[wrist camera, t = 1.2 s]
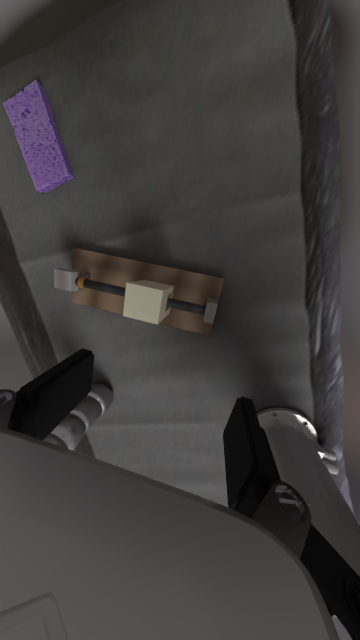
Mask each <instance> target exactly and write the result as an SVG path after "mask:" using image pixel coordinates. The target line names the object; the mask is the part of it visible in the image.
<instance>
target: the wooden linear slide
mask: <svg viewBox="0 0 360 640" xmlns="http://www.w3.org/2000/svg"><path fill="white" fill-rule="evenodd" d="M141 280H148V281H153V282H157V283H162V284H166V285H171V286H174V292H173V297H172V298H167V304H166V307H171V308H170V313H169V314H168V315H167V316H166V317H165V318H164V319H163V320H162V321H161V322H160V323H159V324H163V325H167V326H171V327H175V328H179V329H183V330H187V331H191V332H195V333H199V334H204V335H208V336H210V332H211V328H212V324H213V321H214V318H215V314H216V310H217V306H218V301H219V298H220V294H221V290H222V286H223V282H224V278H220V277H215V276H210V275H205V274H200V273H196V272H191V271H186V270H181V269H176V268H171V267H166V266H161V265H157V264H152V263H147V262H142V261H137V260H132V259H127V258H122V257H118V256H113V255H108V254H103V253H98V252H93V251H88V250H83V249H78V248H73V267H72V269H56V268H54V288H58V289H63V290H67V291H72V302H74V303H78V304H82V305H86V306H90V307H94V308H98V309H102V310H106V311H110V312H114V313H118V314H122V315H123V310H124V300H125V290H126V282H134V281H141Z"/></svg>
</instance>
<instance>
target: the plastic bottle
mask: <svg viewBox="0 0 360 640" xmlns="http://www.w3.org/2000/svg"><path fill="white" fill-rule="evenodd" d="M112 401H113V394H112V391H111V389H110V388H109V387H108V386H106V385H104V384H93V385H92V387H91V390H90V392H89V394H88V395H87V396H86V397H85V398H84V399H83V400H82V401H81V402H80V403H79V404H78V405H77V406H76V407H75V408H74V409H73V410H72V411H71V412H70V413H69V414H68V415H67V416H66V418H65V419H64V420H63V421H62V422H61V423H60V424H59V425H58V426H57V427H56V428H55V429H54V430H53V431H52V432H51V433H50V434H49V435H48V436H47V437H46V438H45V439H44V441H47V442H50V443H52V444H55V445H58V446H61V447H64V448H67V449H70V450H72V451H73V450H74V449H75V447H76V446H77V444H78V442H79V441H80V440H81V438H82V437H83V436H84V434H85V433H86V431H87V430H88V429H89V427H90V426H91V425H92V424H93V423H94V422H95V421H96V420H97V419H98V418H99V417H100V416H101V415H102V414H104V413H105V412H106V411H107V410H108V409H109V407H110V405H111V403H112Z"/></svg>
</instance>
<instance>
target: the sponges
mask: <svg viewBox="0 0 360 640" xmlns="http://www.w3.org/2000/svg"><path fill="white" fill-rule="evenodd" d="M3 105H4V107H5V109H6V112H7V114H8V117H9V120H10V122H11V124H12V126H13V127H14V129H15V135H16V138H17V141H18V143H19V145H20V149H21V150H22V154H23V157H24V159H25V162H26V164H27V167H28V170H29V173H30V175H31V178H32V181H33V183H34V186H35V189H36V191H38V192H40V193H41V192H45V193H46V192H48V191H50V190H52V189H54V188H55V187H57V186H59V185H60V184H61V183H62V184H63V183H65V182H67V181H69V180H71V179H73V178H74V176H73V174H72V171H71V168H70V165H69V162H68V159H67V157H66V153H65V150H64V147H63V144H62V141H61V138H60V135H59V132H58V129H57V126H56V122H55V120H54V118H53V113H52V110H51V107H50V104H49V101H48V98H47V95H46V92H45V89H44V88H43V87H42V86H41V85H40V84H39V83H38V82H37V81H36V80H34V81H33V82H32V83H31V84H29V85H28V86H27V87H25V88H24V92H22V91H20V92H19V93H17V94H16V96H14V97H12V98H11V99H8V100H7V101H6V102H4V103H3Z"/></svg>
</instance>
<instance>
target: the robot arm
mask: <svg viewBox="0 0 360 640" xmlns="http://www.w3.org/2000/svg"><path fill="white" fill-rule="evenodd" d="M93 363H94V354H92V351H90V350H86V349H81V350H79V351H77V352H76V353H74V354H73V355H71V356H70V357H68V358H66V359H65V360H63V361H62V362H60V363H59V364H57V365H56V366H54V367H52V368H51V369H49V370H48V371H46V372H45V373H43V374H41V375H40V376H38V377H37V378H35V379H34V380H32V381H31V382H29V383H27V384H26V385H24V386H23V387H21V388H20V390H19V391H17V392H16V393H15V391H12V390H9V389H1V390H0V640H360V524H359V523H358V521H357V519H356V517H355V516H354V514H353V512H352V510H351V509H350V507H349V505H348V503H347V502H346V500H345V498H344V496H343V495H342V493H341V491H340V489H339V488H338V486H337V484H336V483H335V481H334V479H333V477H332V476H331V474H330V473H332V474H335V475H337V474H338V472H339V469H338V466H337V464H336V463H335V462H333V461H330V460H327V459H324V458H323V457H326V458H328V459H331V460H336V458H337V457H336V454H335V452H334V451H330V450H327V449H322V448H321V447H320V446H319V444H318V442H317V433H316V430H315V428H314V426H313V425H312V423H311V422H310V421H309V420H308V419H307V418H306V417H305V416H304V415H302V414H301V413H299V412H297V411H295V410H292V409H288V408H281V407H278V408H268V409H265V410H262V411H260V412H258V413H256V410H255V407H254V404H253V401H252V399H249V398H245V397H241V398H238V399H237V401H236V403H235V405H234V408H233V410H232V413H231V415H230V417H229V420H228V422H227V425H226V427H225V430H224V433H223V441H224V454H225V468H226V482H227V495H228V506H229V508H228V507H226V506H223V505H221V504H218V503H215V502H213V501H210V500H208V499H205V498H202V497H200V496H197V495H195V494H192V493H189V492H187V491H184V490H181V489H178V488H176V487H173V486H170V485H167V484H165V483H162V482H159V481H156V480H154V479H151V478H148V477H145V476H143V475H140V474H137V473H134V472H132V471H129V470H126V469H123V468H120V467H118V466H115V465H112V464H109V463H106V462H104V461H101V460H98V459H95V458H92V457H90V456H87V455H84V454H81V453H78V452H75V451H72V450H70V449H67V448H64V447H61V446H58V445H55V444H52V443H50V442H47V441H44V439H45V438H46V437H47V436H48V435H49V434H50V433H51V432H52V431H53V430H54V429H55V428H56V427H57V426H58V425H59V424H60V423H61V422H62V421H63V420H64V419H65V418H66V416H67V415H68V414H69V413H70V412H71V411H72V410H73V409H74V408H75V407H76V406H77V405H78V404H79V403H80V402H81V401H82V400H83V399H84V398H85V397H86V396H87V395H88V394H89V392H90V390H91V387H92V375H93ZM322 458H323V459H322Z"/></svg>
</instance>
